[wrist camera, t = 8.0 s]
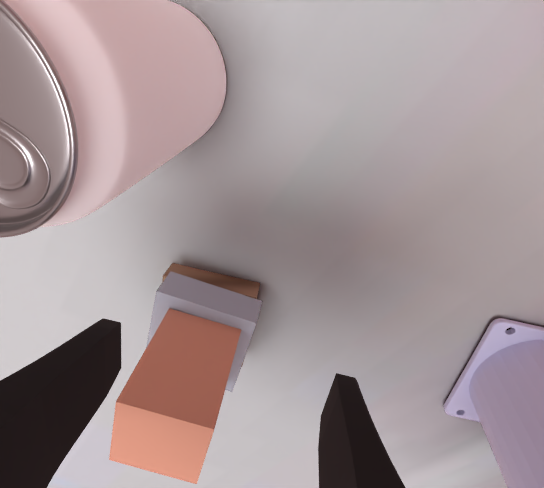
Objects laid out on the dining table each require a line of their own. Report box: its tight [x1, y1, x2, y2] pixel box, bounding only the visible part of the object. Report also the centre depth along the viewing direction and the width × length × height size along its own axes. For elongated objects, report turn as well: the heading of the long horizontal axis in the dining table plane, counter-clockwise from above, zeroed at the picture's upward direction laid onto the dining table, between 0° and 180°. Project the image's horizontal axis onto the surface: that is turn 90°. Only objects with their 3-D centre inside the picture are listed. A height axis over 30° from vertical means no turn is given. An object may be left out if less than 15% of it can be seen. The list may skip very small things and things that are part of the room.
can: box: [0, 0, 226, 237], centre depth 13 cm, size 6×6×12 cm
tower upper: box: [146, 271, 262, 392], centre depth 22 cm, size 6×6×2 cm
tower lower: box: [163, 263, 260, 367], centre depth 24 cm, size 6×6×2 cm
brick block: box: [109, 308, 241, 484], centre depth 19 cm, size 4×4×6 cm
